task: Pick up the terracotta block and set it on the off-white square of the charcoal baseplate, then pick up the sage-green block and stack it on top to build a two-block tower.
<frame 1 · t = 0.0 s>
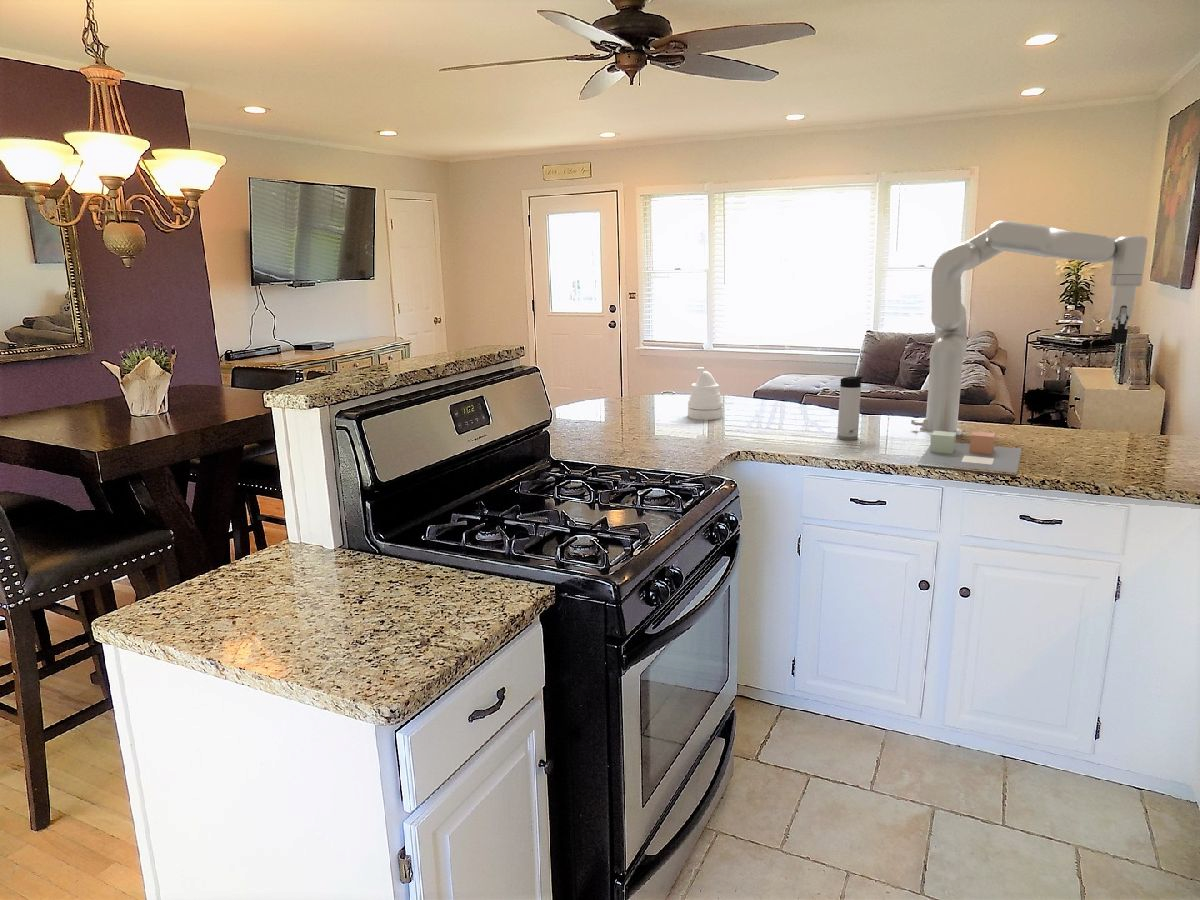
hand: (1117, 341, 227), 31 cm above the countertop, tool pointing down, fingers open, 9 cm apart
baseplate: (971, 459, 222), on the countertop
sage brick: (942, 450, 228), point 1 cm above the countertop, touching baseplate
honey pot: (705, 416, 290), on the countertop
terracotta brick: (981, 450, 227), point 1 cm above the countertop, touching baseplate
travel mug: (848, 438, 251), on the countertop
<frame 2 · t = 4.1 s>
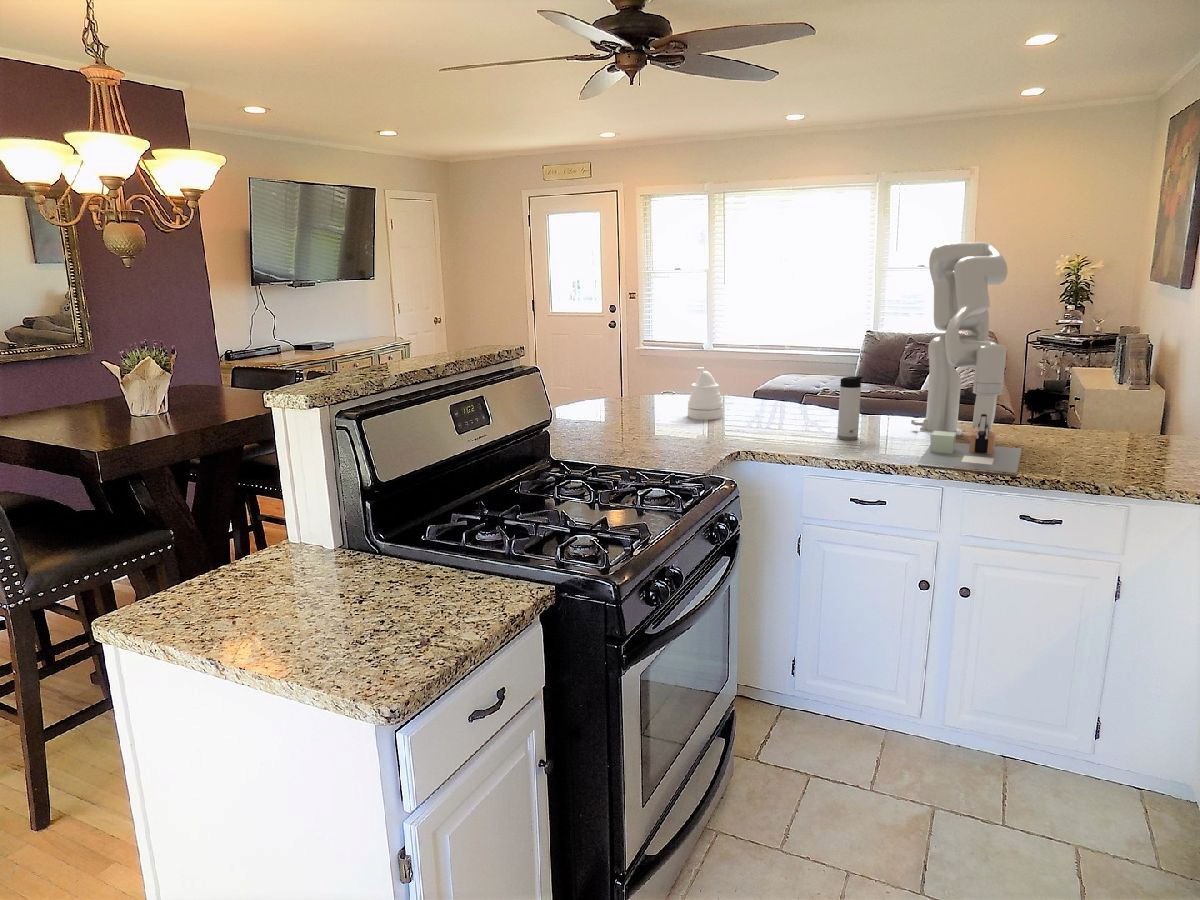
hand: (981, 449, 227), 2 cm above the countertop, tool pointing down, fingers closed on terracotta brick, 5 cm apart
terracotta brick: (981, 450, 227), point 1 cm above the countertop, touching baseplate, gripper
everything else where it was.
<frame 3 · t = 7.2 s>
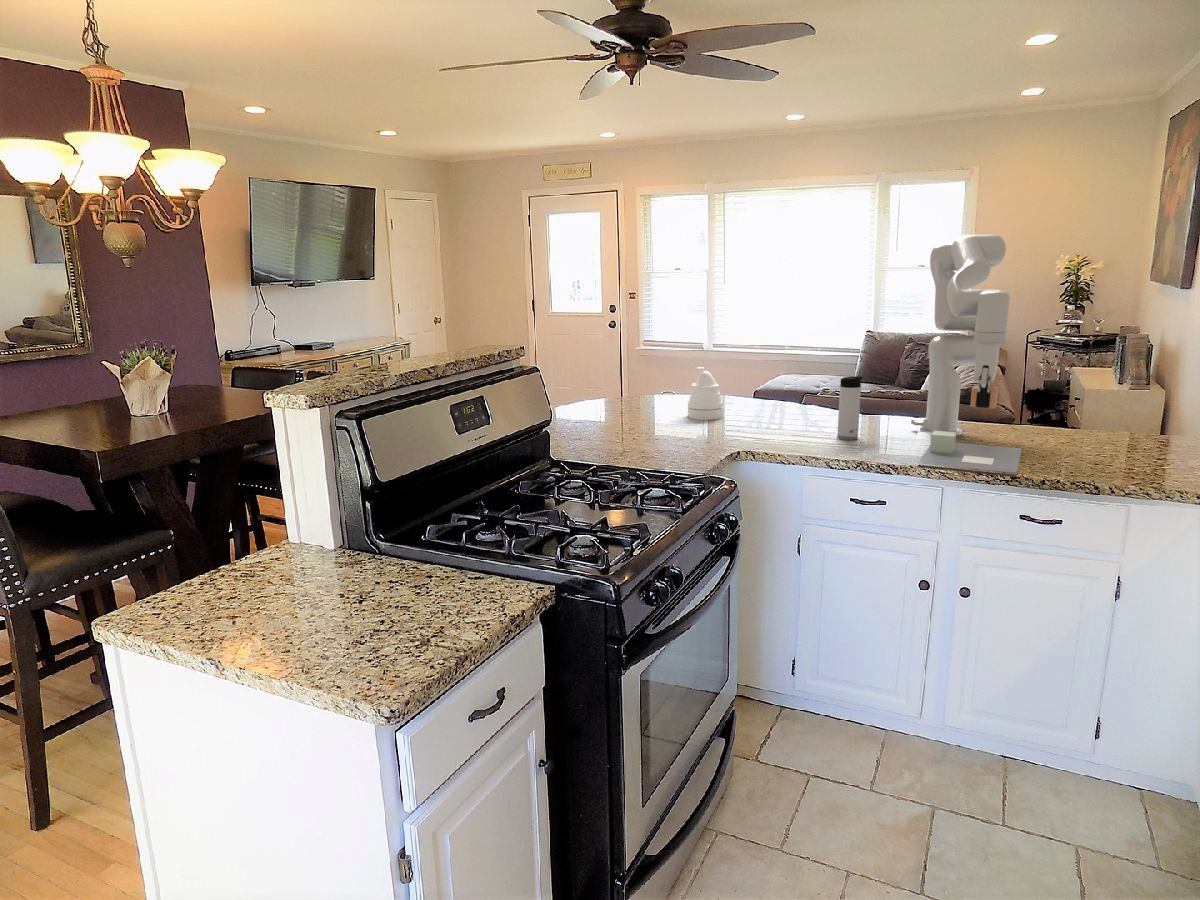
hand: (983, 404, 213), 17 cm above the countertop, tool pointing down, fingers closed on terracotta brick, 5 cm apart
terracotta brick: (983, 405, 213), point 16 cm above the countertop, touching gripper
everything else where it was.
when the fingers open (3 cm above the countertop, at t = 10.1 s): terracotta brick drops 1 cm, resting on baseplate.
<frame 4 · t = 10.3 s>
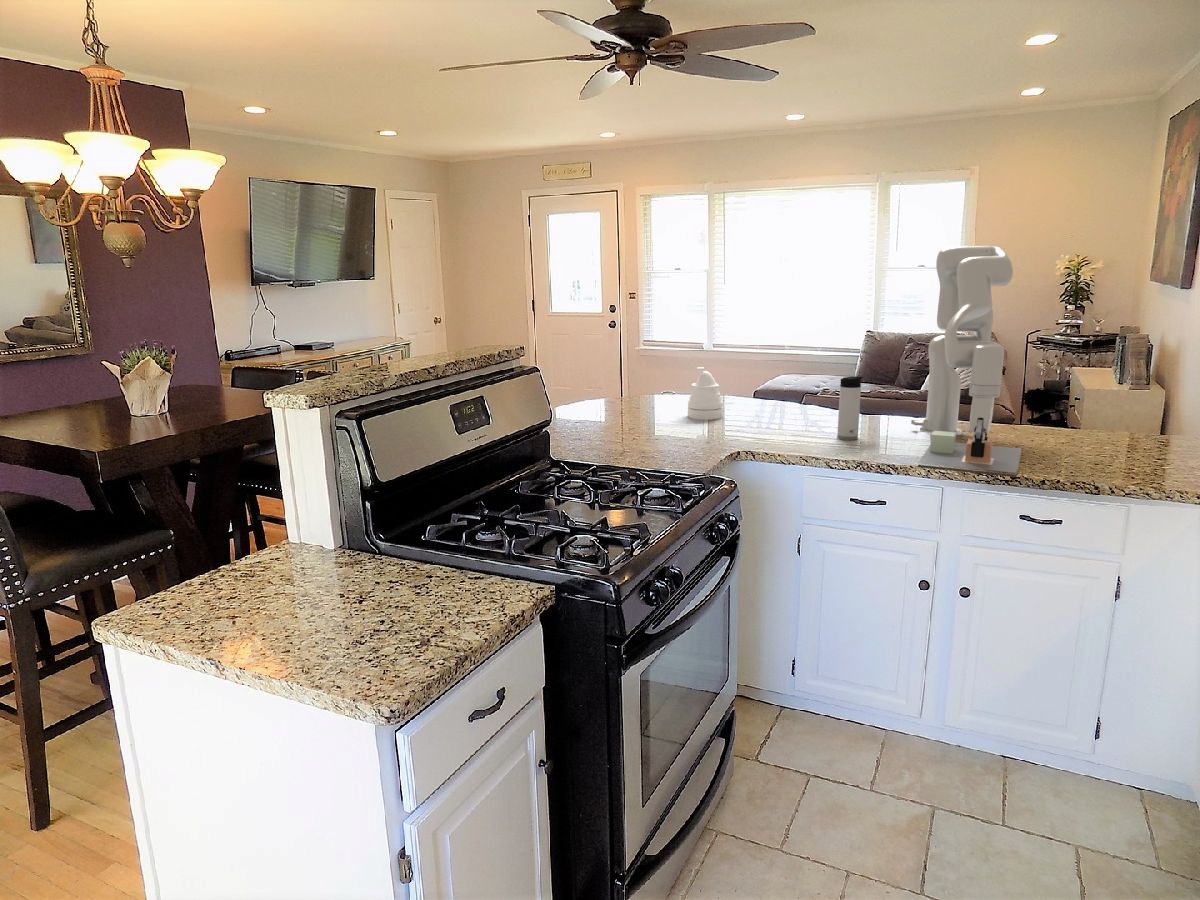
hand: (978, 453, 216), 3 cm above the countertop, tool pointing down, fingers open, 8 cm apart
terracotta brick: (977, 459, 217), point 1 cm above the countertop, touching baseplate
everything else where it was.
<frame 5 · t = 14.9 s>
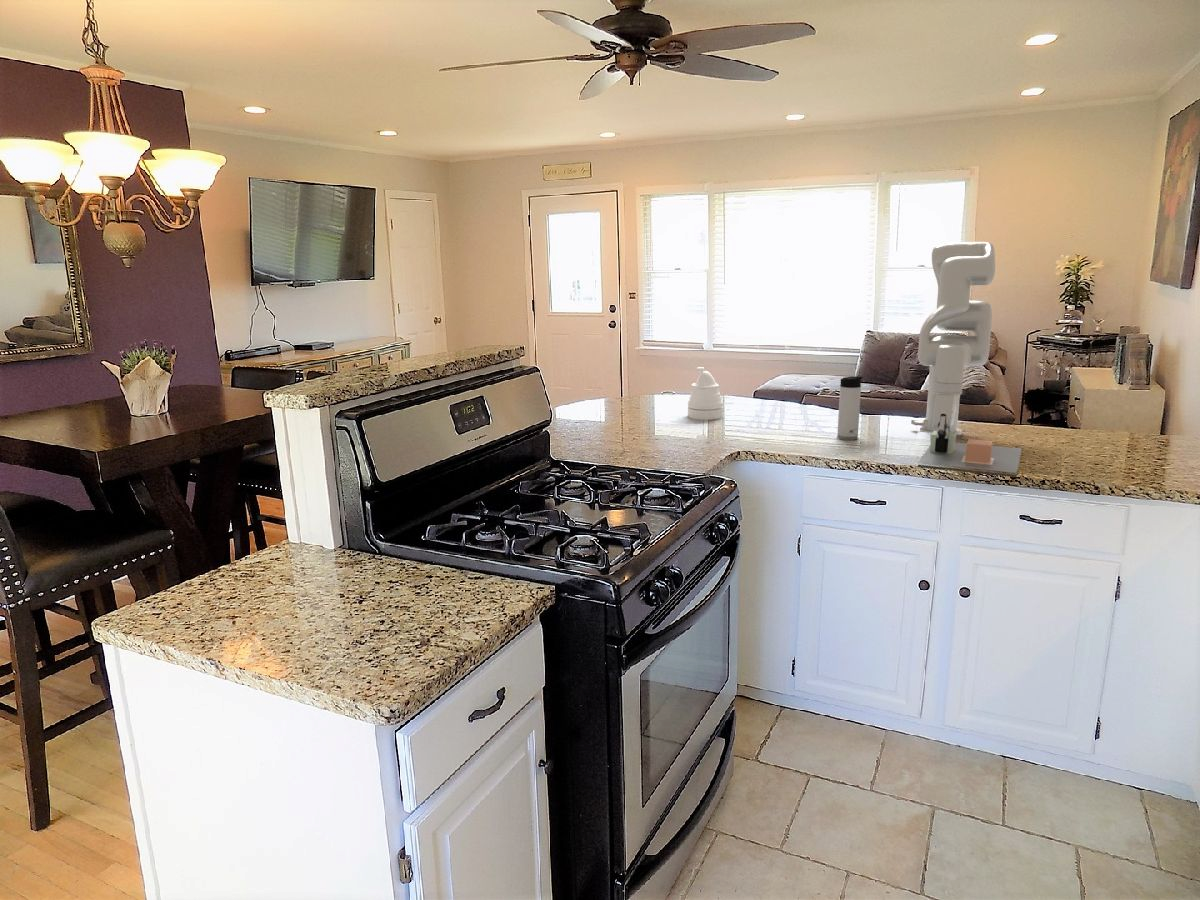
hand: (942, 449, 228), 2 cm above the countertop, tool pointing down, fingers closed on sage brick, 5 cm apart
sage brick: (942, 450, 228), point 1 cm above the countertop, touching baseplate, gripper
everything else where it was.
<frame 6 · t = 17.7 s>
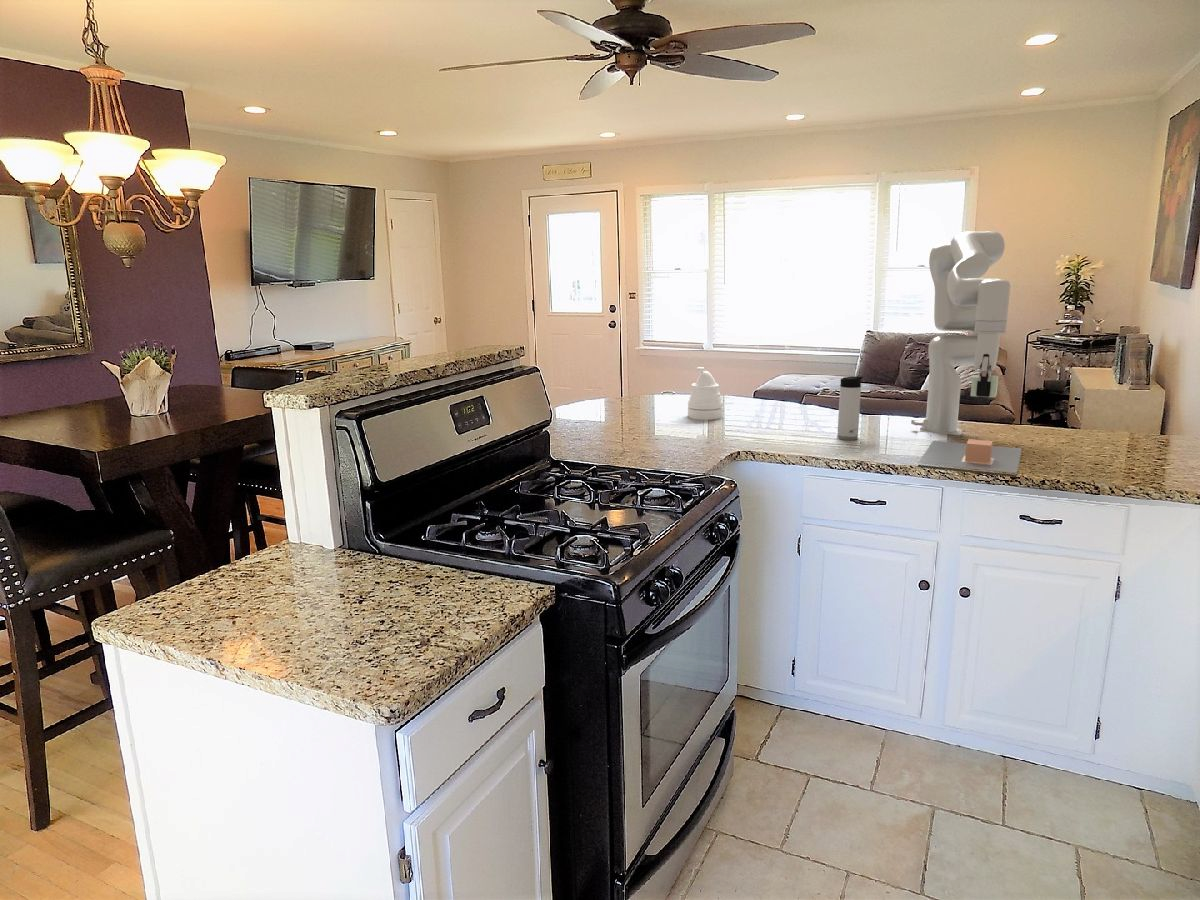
hand: (983, 393, 213), 20 cm above the countertop, tool pointing down, fingers closed on sage brick, 5 cm apart
sage brick: (983, 395, 213), point 19 cm above the countertop, touching gripper
everything else where it was.
when the fingers open (8 cm above the countertop, at t = 20.4 s): sage brick drops 1 cm, resting on terracotta brick.
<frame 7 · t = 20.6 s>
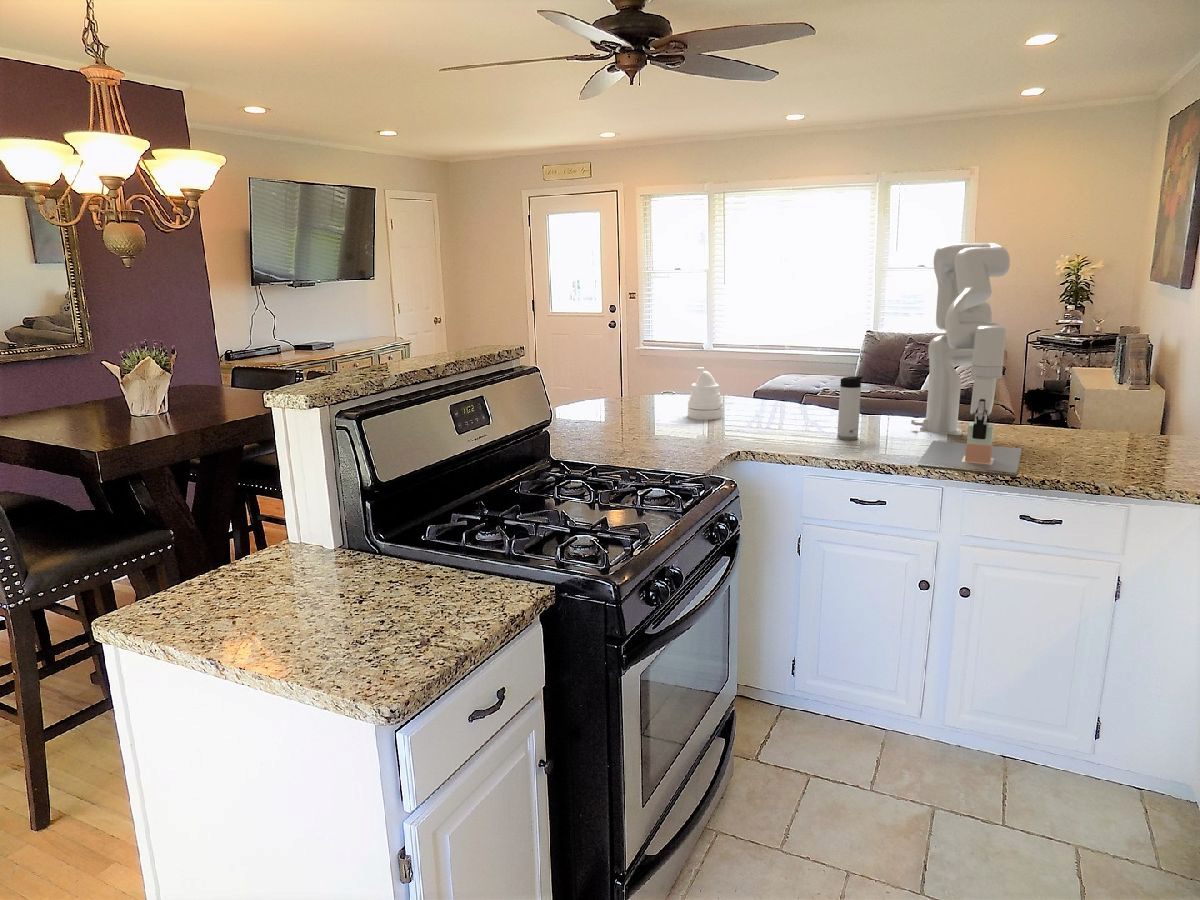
hand: (980, 435, 215), 8 cm above the countertop, tool pointing down, fingers open, 8 cm apart
sage brick: (979, 442, 216), point 6 cm above the countertop, touching terracotta brick
terracotta brick: (977, 459, 217), point 1 cm above the countertop, touching baseplate, sage brick
everything else where it was.
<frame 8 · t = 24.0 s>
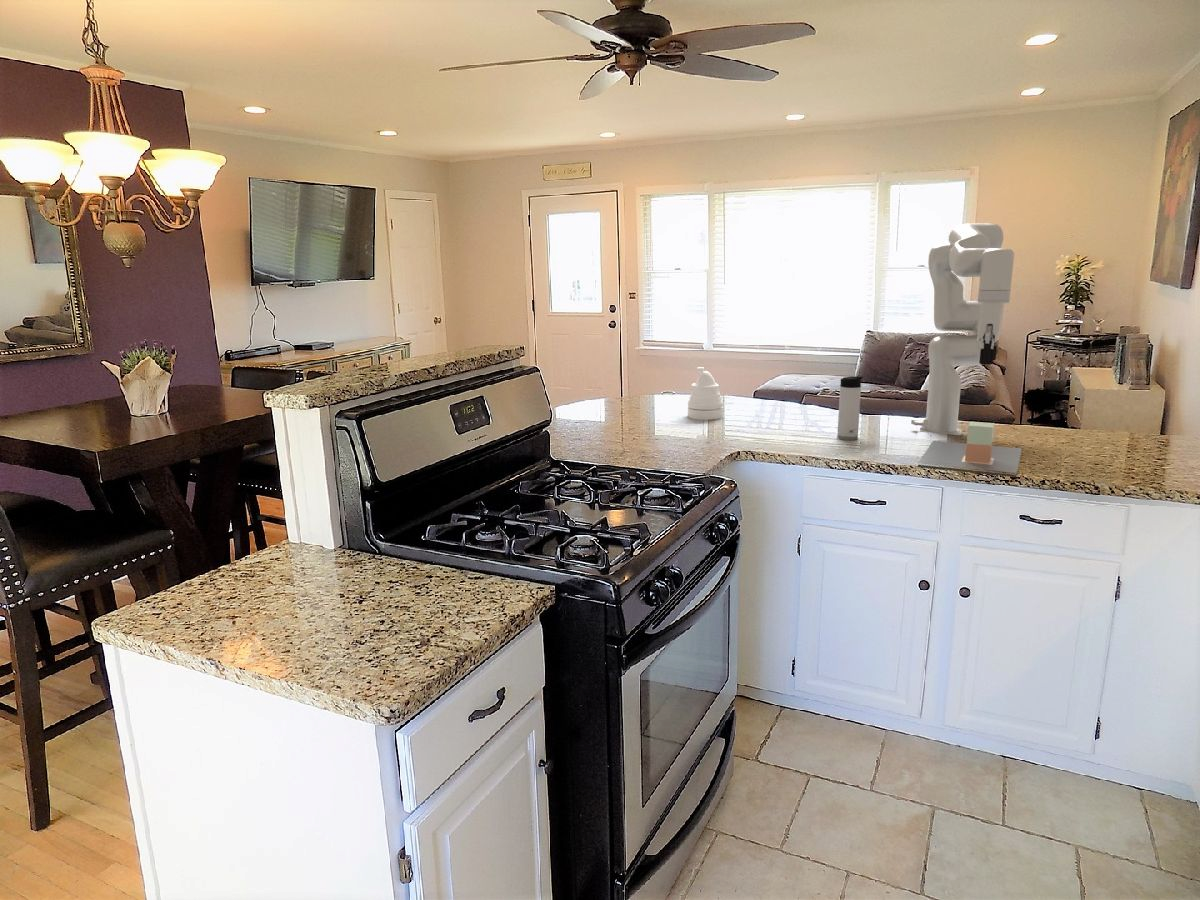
hand: (987, 362, 210), 28 cm above the countertop, tool pointing down, fingers open, 9 cm apart
nothing on the countertop moved.
at the end: terracotta brick 0.0 cm from the target spot, point 1.2 cm above the countertop; sage brick 0.0 cm off-centre on the terracotta brick, point 5.0 cm above the terracotta brick's base; sage brick tilted 0° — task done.
